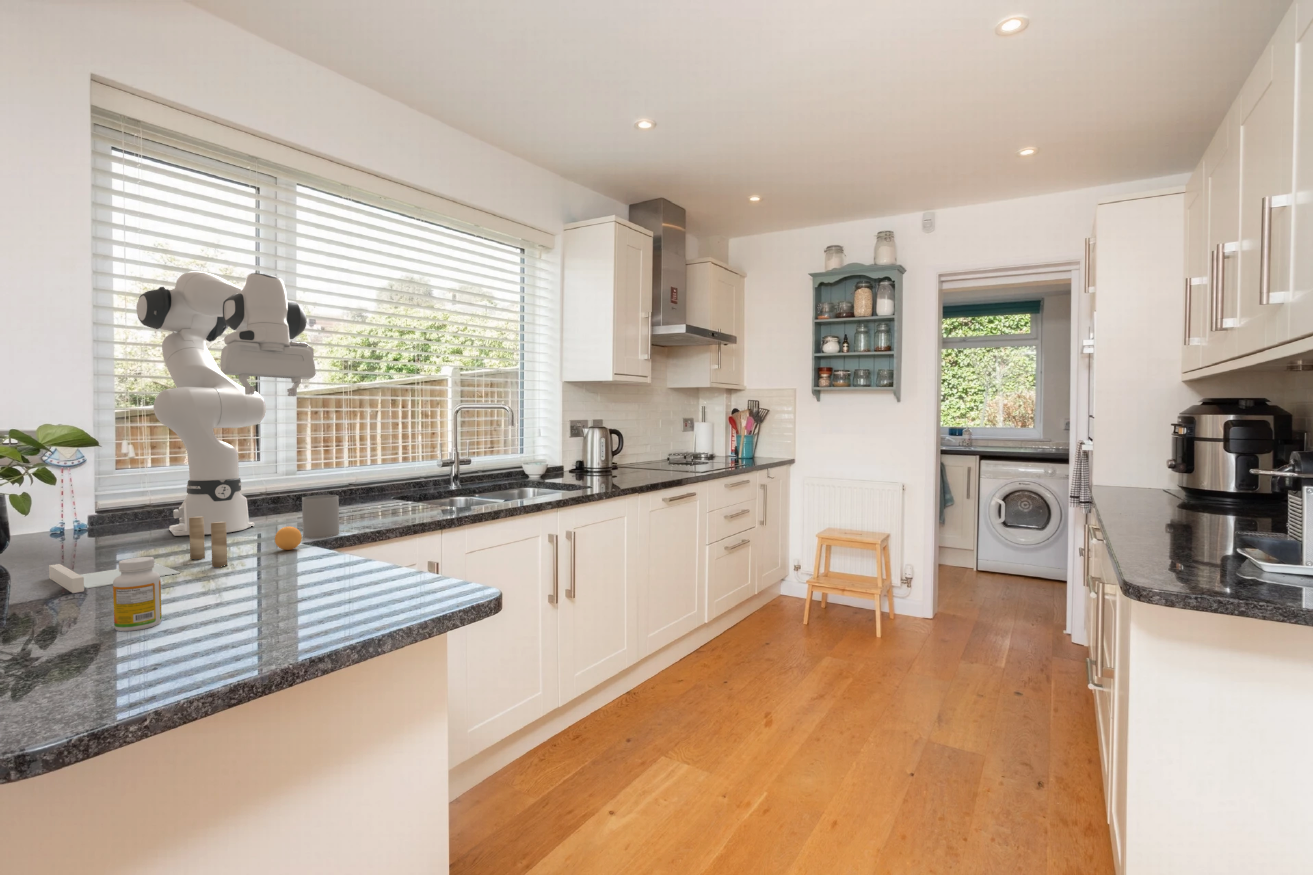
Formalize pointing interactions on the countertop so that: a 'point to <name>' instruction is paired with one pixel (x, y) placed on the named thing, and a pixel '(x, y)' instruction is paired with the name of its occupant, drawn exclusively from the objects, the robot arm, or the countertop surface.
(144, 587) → the supplement bottle
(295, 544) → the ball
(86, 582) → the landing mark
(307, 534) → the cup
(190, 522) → the post
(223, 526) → the post
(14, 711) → the countertop surface
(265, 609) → the countertop surface
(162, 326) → the robot arm
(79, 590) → the wall
